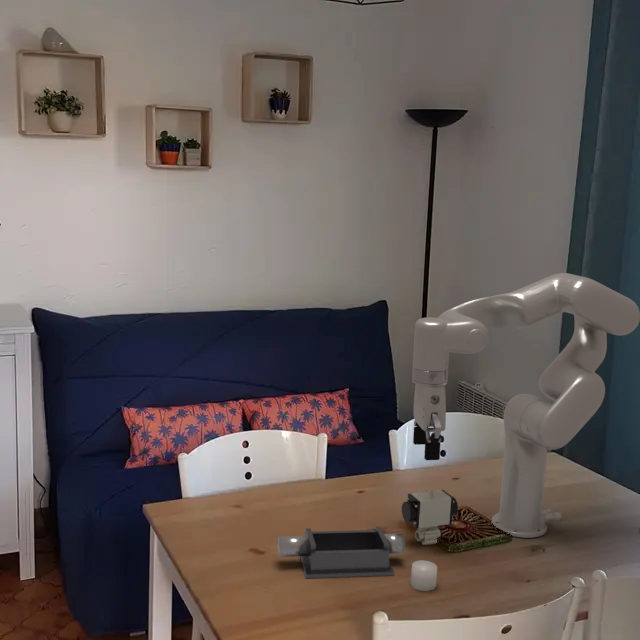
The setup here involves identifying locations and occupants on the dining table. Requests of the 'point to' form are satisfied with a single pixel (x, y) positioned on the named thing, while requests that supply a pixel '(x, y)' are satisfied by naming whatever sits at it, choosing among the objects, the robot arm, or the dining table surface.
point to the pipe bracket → (343, 552)
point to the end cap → (423, 575)
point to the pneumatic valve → (429, 513)
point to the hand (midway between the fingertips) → (425, 451)
